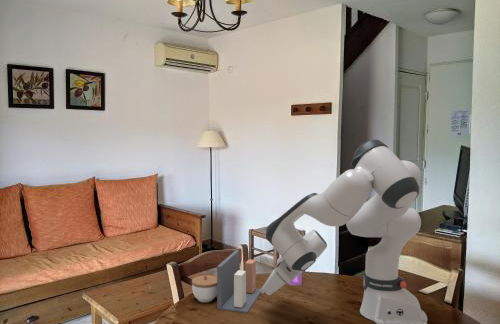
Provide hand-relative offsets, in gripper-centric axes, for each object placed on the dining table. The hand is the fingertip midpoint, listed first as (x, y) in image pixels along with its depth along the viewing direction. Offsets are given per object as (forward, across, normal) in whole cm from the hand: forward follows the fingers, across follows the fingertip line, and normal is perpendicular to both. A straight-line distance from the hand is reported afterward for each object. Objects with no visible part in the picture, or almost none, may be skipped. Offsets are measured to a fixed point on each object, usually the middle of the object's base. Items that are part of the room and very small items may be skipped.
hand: (261, 290), depth 144 cm
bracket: (+1, -35, +10) cm, 37 cm away
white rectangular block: (+12, -2, -1) cm, 12 cm away
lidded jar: (+22, -5, -11) cm, 25 cm away
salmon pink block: (+11, -16, -1) cm, 19 cm away
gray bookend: (+13, -9, -2) cm, 16 cm away
